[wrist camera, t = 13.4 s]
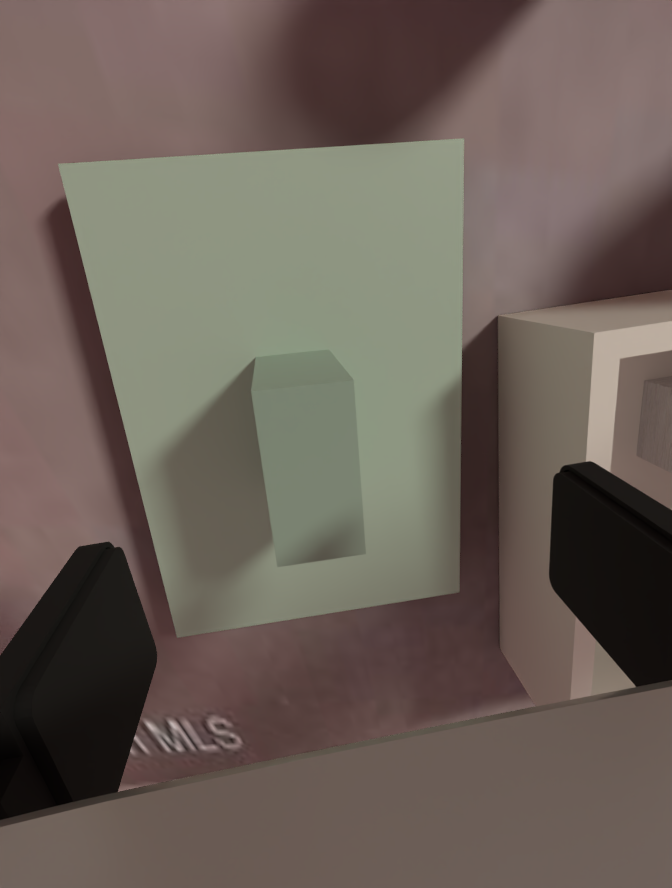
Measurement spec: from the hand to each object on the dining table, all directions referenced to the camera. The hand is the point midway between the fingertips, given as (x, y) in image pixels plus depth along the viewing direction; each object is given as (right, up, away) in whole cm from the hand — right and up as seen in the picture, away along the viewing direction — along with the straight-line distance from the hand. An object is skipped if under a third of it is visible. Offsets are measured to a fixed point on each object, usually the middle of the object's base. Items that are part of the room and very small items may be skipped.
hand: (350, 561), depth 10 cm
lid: (-2, +4, +13) cm, 13 cm away
